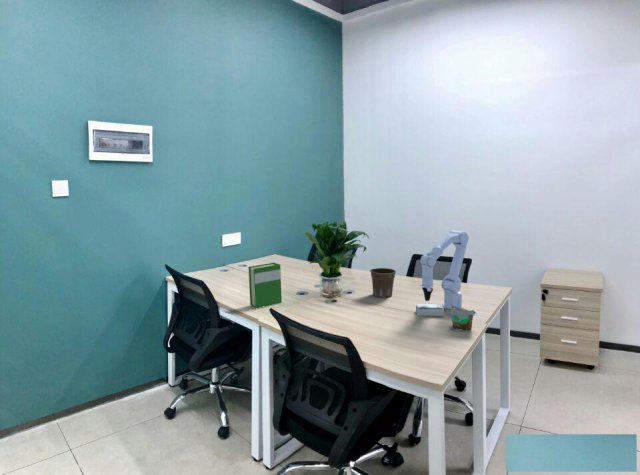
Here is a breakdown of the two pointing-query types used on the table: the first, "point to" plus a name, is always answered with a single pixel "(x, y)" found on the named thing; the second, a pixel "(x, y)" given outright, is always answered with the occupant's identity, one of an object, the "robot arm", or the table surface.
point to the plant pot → (382, 281)
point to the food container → (461, 318)
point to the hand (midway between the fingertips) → (427, 300)
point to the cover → (429, 306)
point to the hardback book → (265, 284)
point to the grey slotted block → (429, 312)
